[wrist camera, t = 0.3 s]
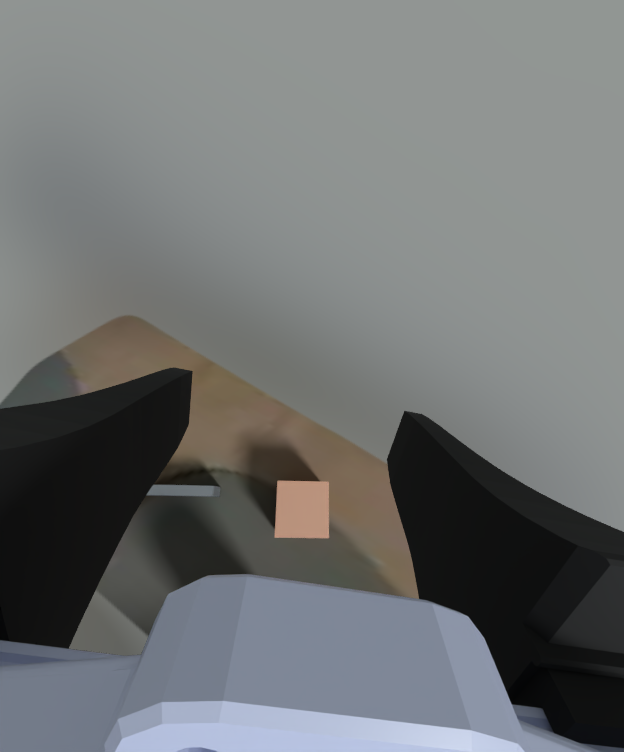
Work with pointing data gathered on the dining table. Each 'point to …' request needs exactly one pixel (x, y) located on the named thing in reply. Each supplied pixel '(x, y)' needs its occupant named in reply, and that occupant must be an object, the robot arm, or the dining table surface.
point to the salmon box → (302, 509)
